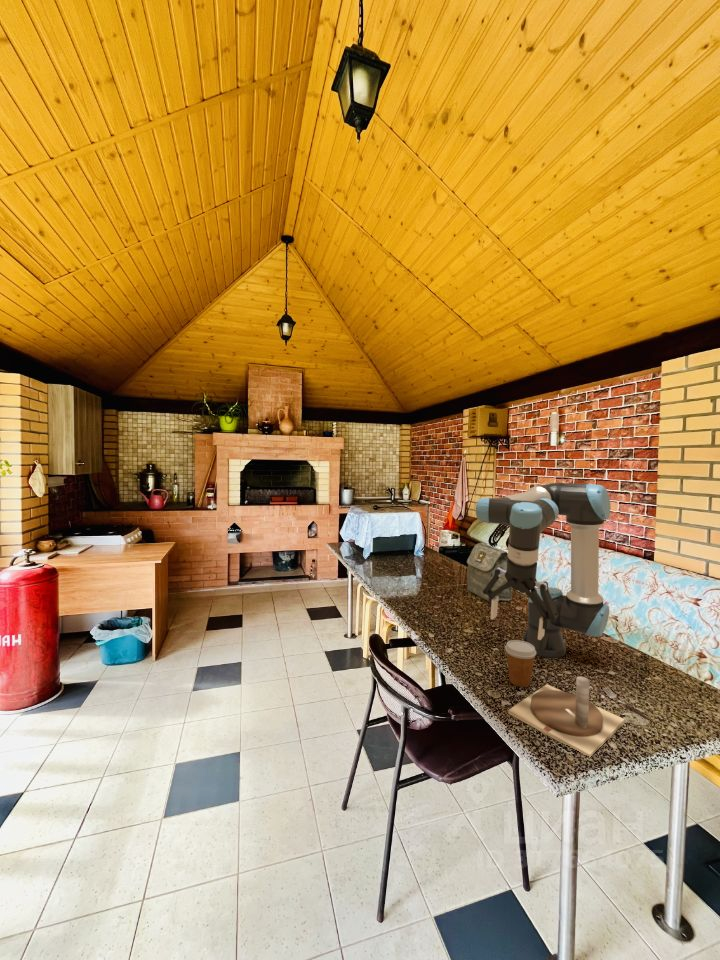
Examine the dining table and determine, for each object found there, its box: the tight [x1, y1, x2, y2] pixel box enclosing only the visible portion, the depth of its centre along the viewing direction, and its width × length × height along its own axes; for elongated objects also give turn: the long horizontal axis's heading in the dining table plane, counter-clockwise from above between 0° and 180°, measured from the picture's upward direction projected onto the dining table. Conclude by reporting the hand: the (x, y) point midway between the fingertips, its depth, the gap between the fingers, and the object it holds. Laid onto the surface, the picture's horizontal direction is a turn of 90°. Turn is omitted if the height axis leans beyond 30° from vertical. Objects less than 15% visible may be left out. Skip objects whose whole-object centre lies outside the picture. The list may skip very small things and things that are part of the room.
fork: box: [602, 686, 656, 724], centre depth 118 cm, size 3×16×2 cm, turn 16°
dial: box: [531, 676, 603, 736], centre depth 113 cm, size 18×18×14 cm
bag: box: [466, 541, 513, 602], centre depth 214 cm, size 22×16×27 cm
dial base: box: [507, 683, 626, 758], centre depth 113 cm, size 22×22×1 cm
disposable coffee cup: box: [504, 639, 537, 688], centre depth 131 cm, size 10×10×12 cm
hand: (516, 627), depth 114 cm, fingers open, 13 cm apart
